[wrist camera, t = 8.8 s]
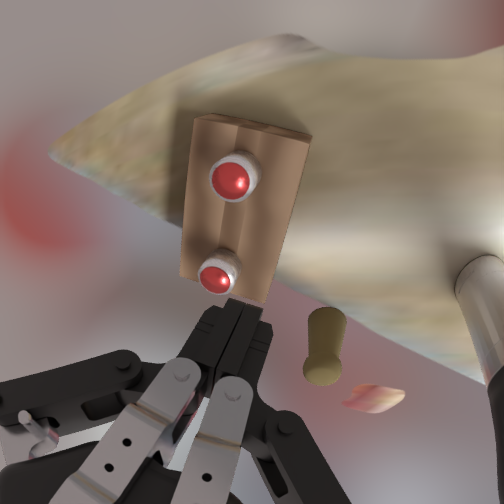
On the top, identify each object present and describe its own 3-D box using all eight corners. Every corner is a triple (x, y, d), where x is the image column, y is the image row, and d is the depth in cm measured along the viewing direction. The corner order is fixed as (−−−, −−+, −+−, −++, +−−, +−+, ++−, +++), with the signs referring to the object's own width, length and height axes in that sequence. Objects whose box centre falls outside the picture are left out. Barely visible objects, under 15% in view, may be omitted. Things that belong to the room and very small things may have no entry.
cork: (300, 322, 46) (288, 378, 37) (325, 300, 42) (318, 359, 33) (328, 340, 46) (322, 396, 37) (354, 320, 43) (353, 378, 34)
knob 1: (271, 149, 31) (257, 165, 26) (263, 186, 34) (248, 208, 28) (233, 140, 32) (211, 153, 26) (227, 176, 34) (205, 197, 29)
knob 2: (251, 241, 38) (236, 271, 32) (245, 269, 40) (230, 301, 35) (218, 231, 38) (198, 259, 33) (214, 259, 41) (195, 289, 35)
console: (312, 136, 31) (309, 144, 27) (272, 281, 43) (264, 303, 39) (212, 113, 33) (194, 118, 28) (194, 256, 44) (179, 275, 40)
